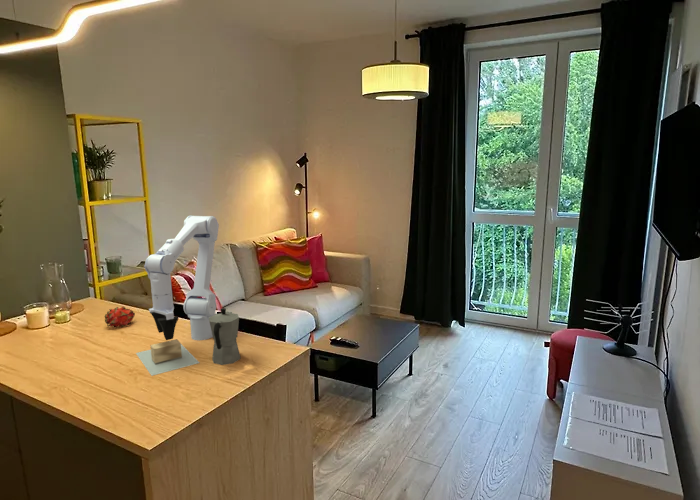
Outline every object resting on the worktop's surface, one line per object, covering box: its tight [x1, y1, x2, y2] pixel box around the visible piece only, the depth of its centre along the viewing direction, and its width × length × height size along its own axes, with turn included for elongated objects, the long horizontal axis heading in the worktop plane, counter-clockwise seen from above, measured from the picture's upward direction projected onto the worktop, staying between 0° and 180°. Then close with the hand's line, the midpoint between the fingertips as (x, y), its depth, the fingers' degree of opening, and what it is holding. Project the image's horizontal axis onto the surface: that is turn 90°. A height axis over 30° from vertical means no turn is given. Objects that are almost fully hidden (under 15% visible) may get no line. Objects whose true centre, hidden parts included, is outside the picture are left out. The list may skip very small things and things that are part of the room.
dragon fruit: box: [104, 306, 136, 329], centre depth 175 cm, size 8×8×12 cm
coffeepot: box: [209, 307, 241, 366], centre depth 139 cm, size 15×9×18 cm, turn 0°
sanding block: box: [150, 338, 182, 365], centre depth 141 cm, size 8×4×5 cm, turn 126°
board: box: [135, 343, 200, 377], centre depth 143 cm, size 14×20×2 cm
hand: (165, 335), depth 140 cm, fingers open, 7 cm apart
